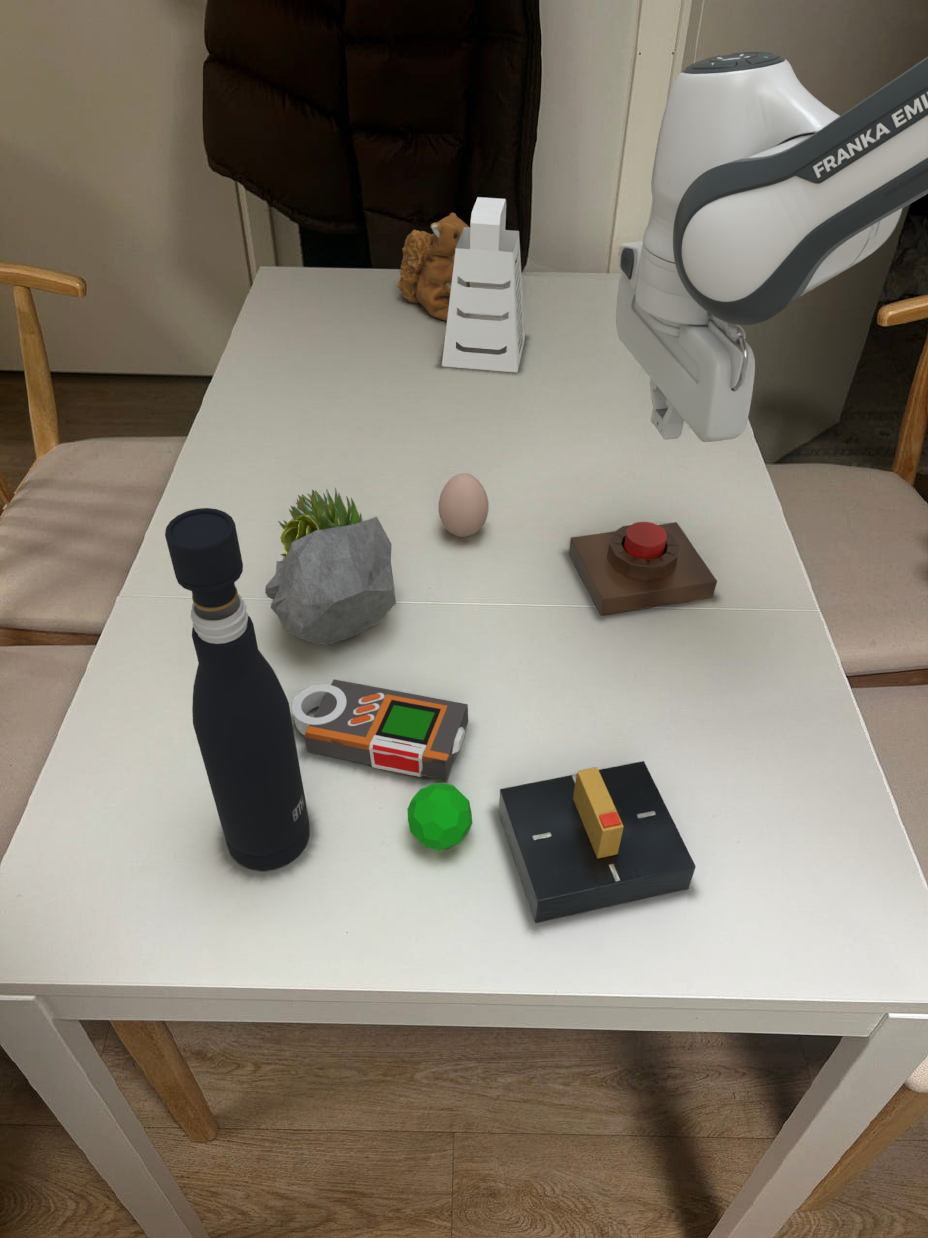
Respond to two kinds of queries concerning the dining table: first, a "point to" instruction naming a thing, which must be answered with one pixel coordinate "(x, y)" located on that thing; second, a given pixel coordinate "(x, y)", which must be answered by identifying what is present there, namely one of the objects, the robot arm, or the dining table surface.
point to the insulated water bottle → (238, 701)
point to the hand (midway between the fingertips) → (665, 430)
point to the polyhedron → (439, 816)
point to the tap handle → (597, 812)
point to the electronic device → (382, 727)
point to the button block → (640, 571)
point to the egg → (463, 505)
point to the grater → (486, 292)
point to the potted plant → (331, 571)
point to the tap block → (563, 854)
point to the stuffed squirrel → (431, 265)
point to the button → (645, 540)
